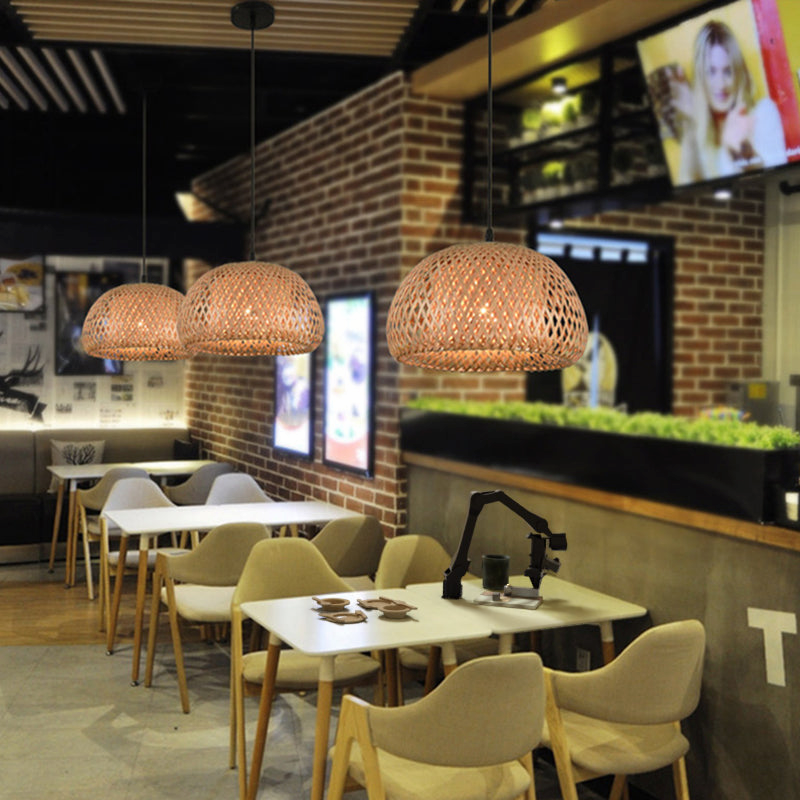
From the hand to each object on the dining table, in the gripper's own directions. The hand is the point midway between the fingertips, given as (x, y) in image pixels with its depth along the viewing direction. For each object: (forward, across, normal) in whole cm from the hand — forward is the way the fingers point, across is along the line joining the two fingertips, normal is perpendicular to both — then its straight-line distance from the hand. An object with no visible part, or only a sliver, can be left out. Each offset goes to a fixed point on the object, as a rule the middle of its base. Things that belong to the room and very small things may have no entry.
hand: (536, 592), depth 380 cm
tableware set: (+3, -50, +49) cm, 70 cm away
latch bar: (0, -6, +5) cm, 8 cm away
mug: (+2, +13, +20) cm, 24 cm away
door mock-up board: (+2, -10, +8) cm, 13 cm away
